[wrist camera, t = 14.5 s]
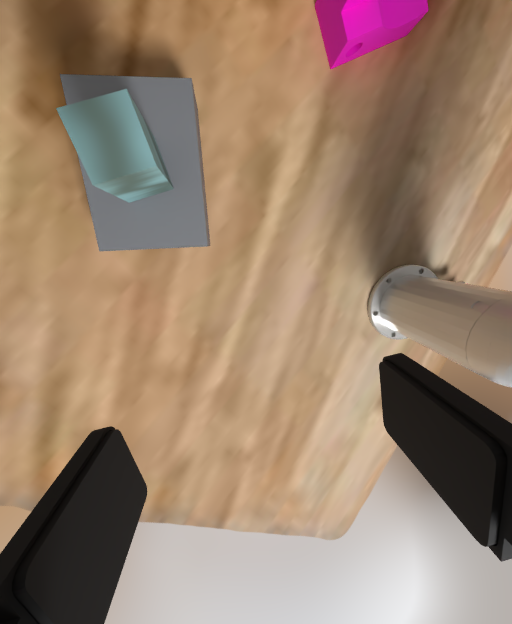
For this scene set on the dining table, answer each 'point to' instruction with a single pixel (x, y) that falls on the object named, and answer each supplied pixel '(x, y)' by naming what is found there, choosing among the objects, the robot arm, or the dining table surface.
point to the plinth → (177, 158)
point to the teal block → (116, 146)
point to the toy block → (364, 25)
